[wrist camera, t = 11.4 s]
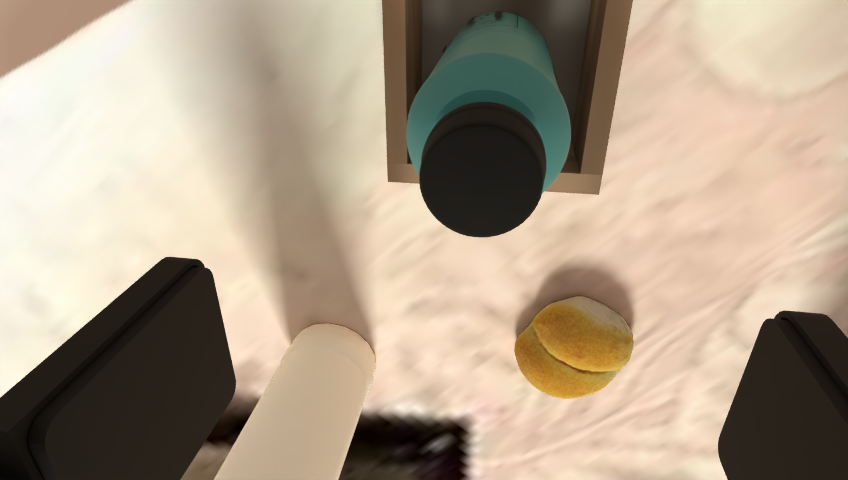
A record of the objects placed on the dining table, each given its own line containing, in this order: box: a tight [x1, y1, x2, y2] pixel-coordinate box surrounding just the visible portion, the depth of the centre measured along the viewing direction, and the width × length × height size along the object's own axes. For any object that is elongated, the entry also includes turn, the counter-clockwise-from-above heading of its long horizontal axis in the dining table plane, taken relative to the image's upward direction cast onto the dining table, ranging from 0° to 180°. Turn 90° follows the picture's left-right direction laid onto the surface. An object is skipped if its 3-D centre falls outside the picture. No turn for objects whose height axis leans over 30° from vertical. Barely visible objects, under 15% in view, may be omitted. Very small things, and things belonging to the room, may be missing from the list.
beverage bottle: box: [406, 9, 571, 237], centre depth 25 cm, size 6×7×20 cm
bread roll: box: [515, 296, 634, 399], centre depth 42 cm, size 8×9×4 cm
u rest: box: [382, 0, 633, 195], centre depth 31 cm, size 12×12×6 cm
